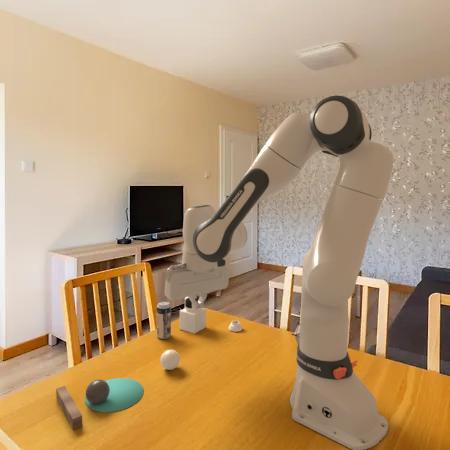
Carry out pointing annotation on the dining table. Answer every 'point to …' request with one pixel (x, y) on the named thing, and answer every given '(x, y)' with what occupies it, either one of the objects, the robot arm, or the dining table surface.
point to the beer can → (163, 320)
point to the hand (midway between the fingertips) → (197, 308)
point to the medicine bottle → (192, 317)
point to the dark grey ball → (97, 392)
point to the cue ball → (170, 359)
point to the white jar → (235, 326)
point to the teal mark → (119, 395)
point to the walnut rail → (69, 407)
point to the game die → (297, 333)
